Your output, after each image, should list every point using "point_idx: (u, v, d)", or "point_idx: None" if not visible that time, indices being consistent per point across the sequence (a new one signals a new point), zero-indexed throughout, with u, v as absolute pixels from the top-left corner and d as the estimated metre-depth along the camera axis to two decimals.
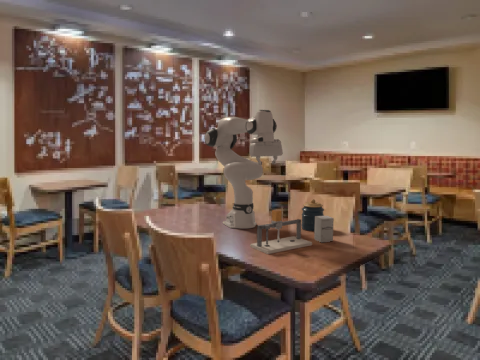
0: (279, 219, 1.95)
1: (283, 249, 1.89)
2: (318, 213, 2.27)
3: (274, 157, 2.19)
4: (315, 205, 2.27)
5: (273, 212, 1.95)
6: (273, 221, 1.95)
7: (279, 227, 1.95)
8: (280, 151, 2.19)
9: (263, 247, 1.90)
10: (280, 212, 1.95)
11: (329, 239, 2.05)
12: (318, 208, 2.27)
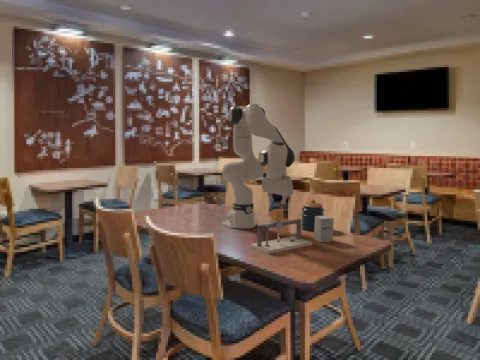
0: (279, 219, 1.95)
1: (283, 249, 1.89)
2: (318, 213, 2.27)
3: None
4: (315, 205, 2.27)
5: (273, 212, 1.95)
6: (273, 221, 1.95)
7: (279, 227, 1.95)
8: (285, 191, 1.86)
9: (263, 247, 1.90)
10: (280, 212, 1.95)
11: (329, 239, 2.05)
12: (318, 208, 2.27)
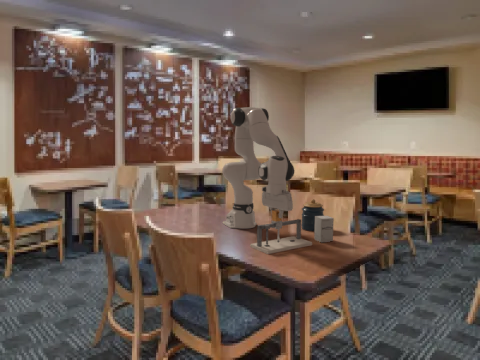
0: (279, 219, 1.95)
1: (283, 249, 1.89)
2: (318, 213, 2.27)
3: (280, 210, 1.93)
4: (315, 205, 2.27)
5: (273, 212, 1.95)
6: (273, 221, 1.95)
7: (279, 227, 1.95)
8: (284, 206, 1.87)
9: (263, 247, 1.90)
10: None
11: (329, 239, 2.05)
12: (318, 208, 2.27)
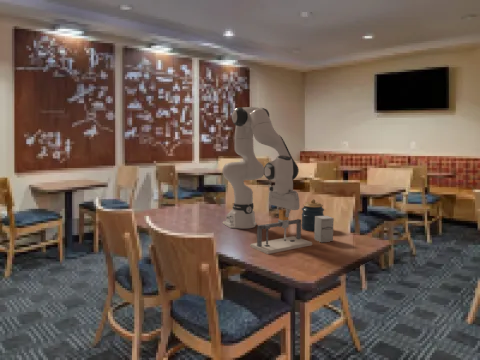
0: (286, 218, 1.97)
1: (283, 249, 1.89)
2: (318, 213, 2.27)
3: None
4: (315, 205, 2.27)
5: (280, 211, 1.97)
6: (280, 220, 1.98)
7: (286, 226, 1.97)
8: (291, 205, 1.89)
9: (263, 247, 1.90)
10: None
11: (329, 239, 2.05)
12: (318, 208, 2.27)
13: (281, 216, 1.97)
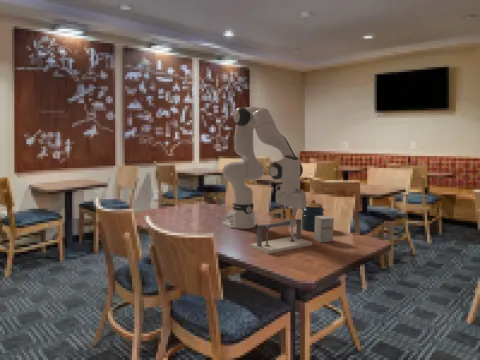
0: (293, 217, 2.00)
1: (283, 249, 1.89)
2: (318, 213, 2.27)
3: None
4: (315, 205, 2.27)
5: (287, 210, 2.00)
6: (287, 219, 2.00)
7: (293, 225, 2.00)
8: (299, 204, 1.92)
9: (263, 247, 1.90)
10: None
11: (329, 239, 2.05)
12: (318, 208, 2.27)
13: (288, 215, 1.99)
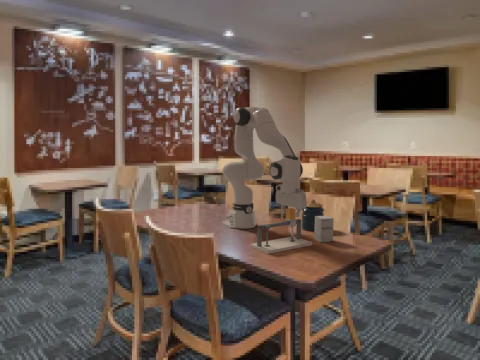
0: (293, 217, 2.00)
1: (283, 249, 1.89)
2: (318, 213, 2.27)
3: None
4: (315, 205, 2.27)
5: (287, 210, 2.00)
6: (287, 219, 2.00)
7: (293, 225, 2.00)
8: (299, 204, 1.92)
9: (263, 247, 1.90)
10: (294, 210, 2.00)
11: (329, 239, 2.05)
12: (318, 208, 2.27)
13: (288, 215, 1.99)
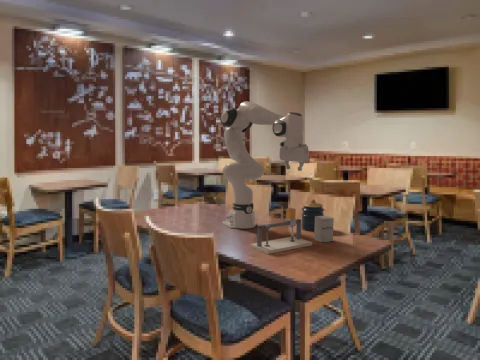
0: (293, 217, 2.00)
1: (283, 249, 1.89)
2: (318, 213, 2.27)
3: (300, 163, 2.05)
4: (315, 205, 2.27)
5: (287, 210, 2.00)
6: (287, 219, 2.00)
7: (293, 225, 2.00)
8: (302, 157, 2.01)
9: (263, 247, 1.90)
10: (294, 210, 2.00)
11: (329, 239, 2.05)
12: (318, 208, 2.27)
13: (288, 215, 1.99)
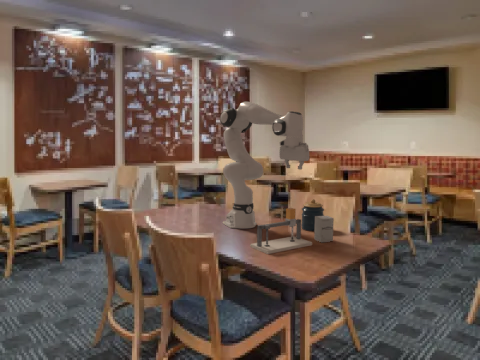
0: (293, 217, 2.00)
1: (283, 249, 1.89)
2: (318, 213, 2.27)
3: None
4: (315, 205, 2.27)
5: (287, 210, 2.00)
6: (287, 219, 2.00)
7: (293, 225, 2.00)
8: (302, 156, 2.01)
9: (263, 247, 1.90)
10: (294, 210, 2.00)
11: (329, 239, 2.05)
12: (318, 208, 2.27)
13: (288, 215, 1.99)
